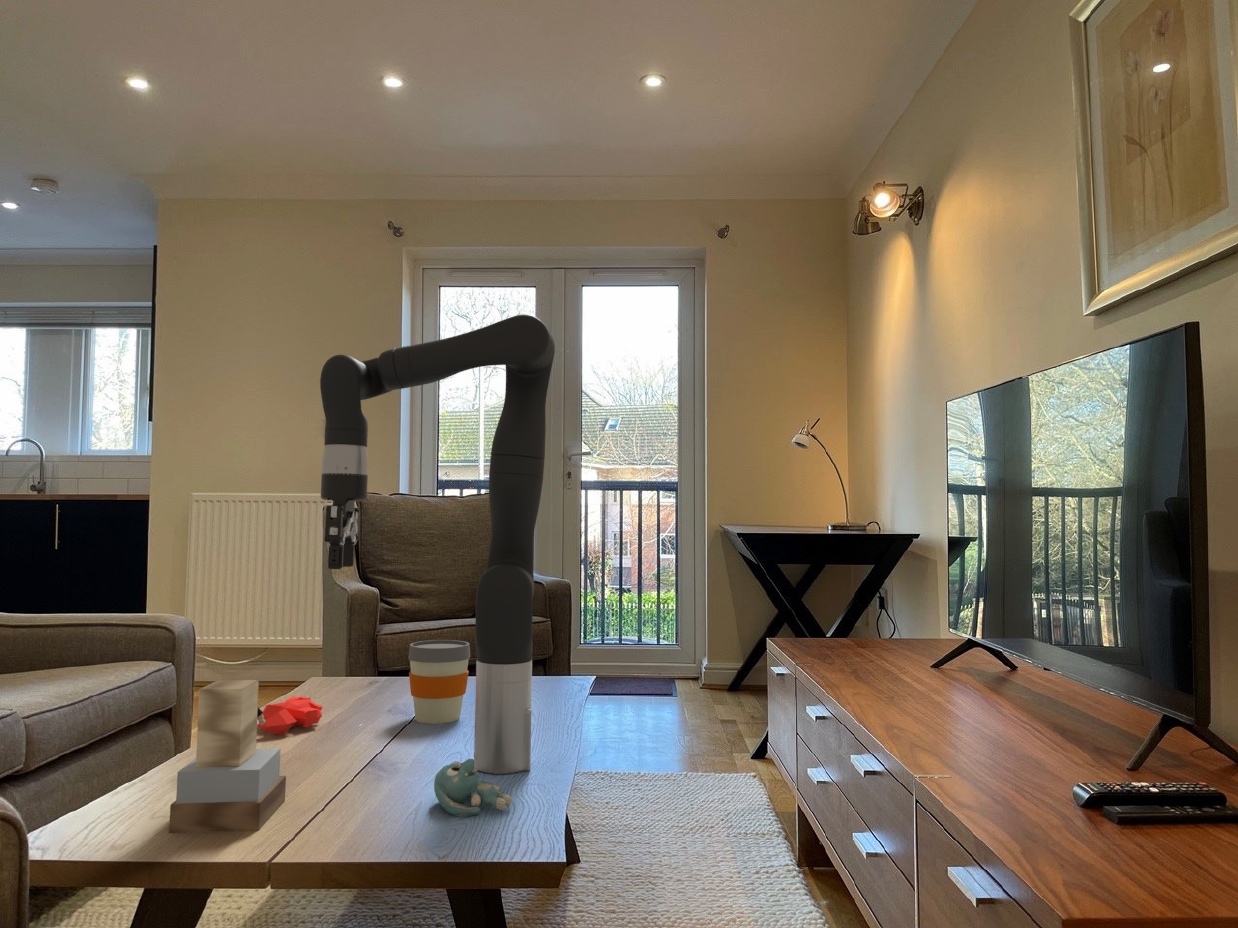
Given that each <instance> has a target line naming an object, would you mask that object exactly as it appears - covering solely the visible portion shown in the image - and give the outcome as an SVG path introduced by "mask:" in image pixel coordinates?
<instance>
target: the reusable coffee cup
mask: <svg viewBox="0 0 1238 928" xmlns="http://www.w3.org/2000/svg"><path fill="white" fill-rule="evenodd" d="M408 650H409V651H408V657H407V659H408V660H409V666H410V670H409V672H408V675H409V676H408V677H409V688H410V695H411V696H412V698H413V700H412V701H413V707H414V719H415V721H416V722H418V723H423V724H434V725H436V724H438V725H439V724H448V723H453V722H455V721H456V722H457V721H459V719H460V718H461V714H462V711H461V710H462V705H463V700H464V699H463V698H464V695H465V694H466V693H467V686H468V678H469V672H470V671H469V670H468V666H469V659H470V658H471V647H470V642H467V641H463V640H458V639H457V640H456V639H455V640H454V639H432V640H431V639H430V640H429V639H428V640H422V641H421V640H420V641H416V642H411V643H410V644H409V649H408Z"/></svg>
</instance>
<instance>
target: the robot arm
mask: <svg viewBox="0 0 1238 928" xmlns="http://www.w3.org/2000/svg"><path fill="white" fill-rule="evenodd" d="M555 348H556V347H555V341H554V337H553V336H552V333H551V332H550V329H548V327H547V326H546V324H545V323H544V322H543V320H541V319H540V318H538V317H536V316H534V315H531V314H523V313H522V314H517V315H514V316H511V317H510V316H509V317H508V318H505V319H502V320H500V321H497V322H494V323H491V324H489V325H487V326H483V327H481V328H477V329H474V330H471V331H468V332H465V333H461V334H458V335H455V336H450V337H446V338H443V339H442V338H441V339H437V340H433V341H427V342H422V343H417V344H416V343H415V344H412V345H405V346H401V347H395V348H390V349H388V350H384V351H383V352H380V354H379V355H378V357H375V358H371V359H367V360H358V359H356V358H354V357H353V356H351V355H346V354H336V355H333V356H331V357H330V358H328V359H327V360H326V361H325V363H324V365H323V367H322V370H321V372H320V379H319V383H320V384H319V385H320V395H321V396H320V397H321V401H322V408H323V413H324V418H325V425H324V441H323V442H324V444H323V445H324V446H323V447H324V448H323V452H322V461H321V481H320V498H321V500H323V501H332V504H331V505H326V508H325V512H326V514H325V526H324V527H325V528H324V529H325V532H324V538H323V539H324V542H325V543H326V545H327V546H328V559H327V568H328V569H330V570H341V569H343V567H345V568H348V567H349V568H352V567H353V566H354V564H355V545H356V544H357V543H358V541H359V538H360V536H359V531H360V530H359V528H360V527H359V525H360V521H359V520H360V519H359V517H360V509H359V507H355V503H356V502H364V501H366V500H367V499H368V498H367V497H368V475H369V456H368V437H369V435H368V432H369V429H368V428H369V426H368V425H369V423H368V419H367V417H366V415H365V414H364V413H363V410H362V401H364V400H368V399H373V398H375V397H378V396H379V397H380V396H381V395H385V394H387V393H390V392H392V391H395V390H404V389H407V388H408V389H409V388H413V387H418V386H424V385H428V384H433V383H436V382H439V381H441V380H445V379H447V378H450V377H452V376H454V375H457V374H460V373H462V372H464V371H465V372H466V371H468V370H472V369H476V368H483V367H488V366H489V367H490V366H505V393H504V394H505V395H504V402H503V406H502V409H501V410H502V411H501V413H500V416H499V420H498V423H497V425H496V428H495V432H494V436H493V439H492V444H491V449H490V459H489V462H490V463H489V474H488V475H489V476H488V499H489V512H490V523H491V525H490V526H491V527H490V528H491V534H490V535H491V536H490V543H489V551H488V556H487V561H486V562H487V563H486V568H485V572H484V573H483V574H482V575H481V577H480V578H479V580H478V582H477V585H476V591H475V593H476V595H475V637H474V638H475V639H474V640H475V646H476V648H475V649H476V662H475V663H476V665H475V671H476V672H475V702H474V703H475V705H474V706H475V707H474V742H473V744H474V747H473V759H474V760H475V762H474V767H475V768H476V769H477V771H479V772H482V773H488V774H497V775H498V774H512V773H517V772H522V771H530V770H531V753H532V751H531V750H532V748H531V747H532V746H531V745H532V744H531V743H532V689H533V686H532V685H533V684H532V683H533V681H532V680H533V651H534V650H533V647H534V646H533V604H534V602H533V601H534V600H533V599H534V596H535V579H534V536H535V529H536V524H537V519H538V514H539V509H540V503H541V495H542V489H543V481H544V471H545V459H546V458H545V457H546V434H547V433H546V432H547V431H546V429H547V427H546V426H547V425H546V422H547V421H546V407H547V406H546V404H547V396H548V390H549V384H550V378H551V373H552V367H553V362H554V357H555V350H556V349H555Z"/></svg>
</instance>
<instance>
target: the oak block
mask: <svg viewBox="0 0 1238 928" xmlns="http://www.w3.org/2000/svg"><path fill="white" fill-rule="evenodd" d="M258 702H259V679H242V680H241V679H235V680H233V679H232V680H230V679H229V680H226V679H225V680H223V679H222V680H216V681H213V682H211V683H210V684H207V685H205V686H203V687H201V688H199V690H198V709H197V711H198V712H197V732H196V733H197V734H196V755H195V756H196V757H195V758H196V767H217V766H240V765H241V764H243V763H244V762H245V761H246V760H248V759H249V758H250V757H252V756H253V755H254V754H255V753H256V749H257V736H258V727H257V725H258V719H257V710H258V708H259V707H258V706H259V705H258V704H259V703H258Z"/></svg>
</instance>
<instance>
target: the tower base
mask: <svg viewBox="0 0 1238 928" xmlns="http://www.w3.org/2000/svg"><path fill="white" fill-rule="evenodd" d="M286 783H287V775H279V778H278V779H277V780H276V781H275V782H274V784H273V785H272V786H271V787H270V788H269V789H268V790H267V792H266V793H265V794H264V795H263V796H262V797H261V798H260V800H259V801H248V802H217V803H187V804H176V800H175V801H173V802H172V803H170V806H169V807H170V810H169V825H168V826H169V827H168V834H177V833H178V834H179V833H180V834H181V833H183V834H186V833H215V832H216V833H217V832H218V833H219V832H220V833H221V832H222V833H223V832H225V833H226V832H253V831H254V832H255V831H256V832H257V831H260V830H261V829H262V827H264V826H265V824H266V823H267V822H268V821H269V820H270V819H271V818H272V816H273V815H275V814H276V812H278V810H279V808H280V807H281V806H282V805H283V804H284V803H285V802H286V786H287V784H286Z"/></svg>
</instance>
